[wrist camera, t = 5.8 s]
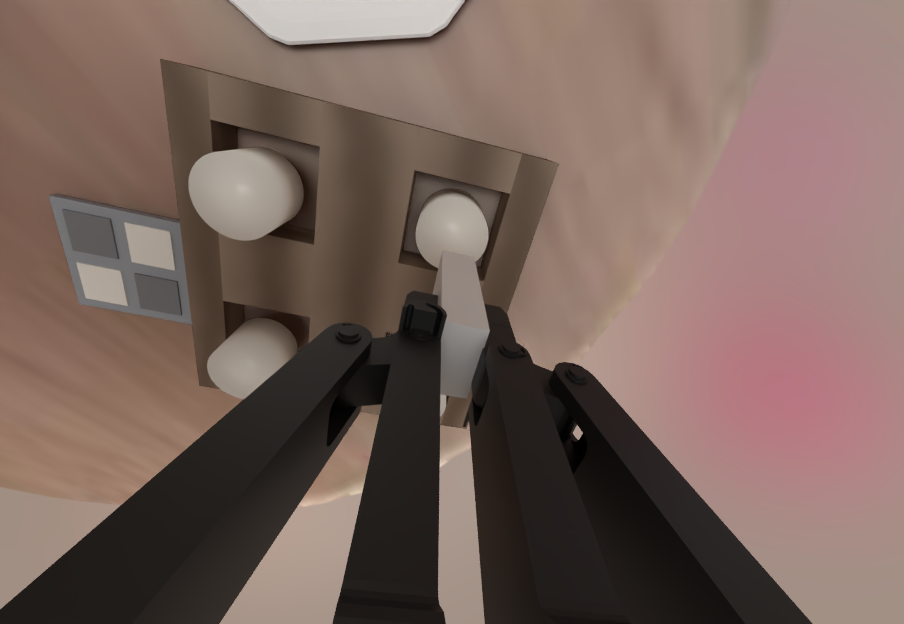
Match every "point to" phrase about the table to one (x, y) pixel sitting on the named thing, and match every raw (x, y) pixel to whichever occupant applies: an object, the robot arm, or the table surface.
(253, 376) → the button
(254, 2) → the plate
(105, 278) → the card
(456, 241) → the button
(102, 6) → the table surface
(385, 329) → the board
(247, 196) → the button
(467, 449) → the table surface
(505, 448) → the robot arm
